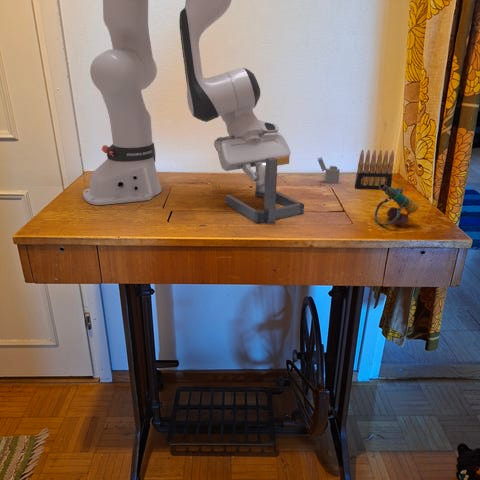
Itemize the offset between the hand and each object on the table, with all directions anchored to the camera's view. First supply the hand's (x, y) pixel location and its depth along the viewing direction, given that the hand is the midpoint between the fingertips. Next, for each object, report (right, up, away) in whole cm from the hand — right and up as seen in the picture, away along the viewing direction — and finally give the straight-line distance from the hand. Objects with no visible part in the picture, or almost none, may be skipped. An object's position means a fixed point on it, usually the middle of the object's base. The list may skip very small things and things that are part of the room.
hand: (265, 178), depth 115 cm
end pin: (0, -4, +2) cm, 5 cm away
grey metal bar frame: (0, -8, +3) cm, 8 cm away
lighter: (+21, +2, +26) cm, 34 cm away
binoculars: (+32, -12, -5) cm, 34 cm away
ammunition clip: (+34, 0, +20) cm, 40 cm away
